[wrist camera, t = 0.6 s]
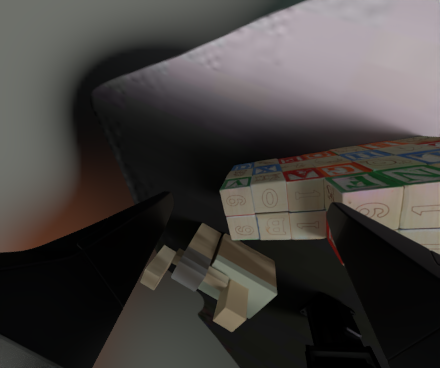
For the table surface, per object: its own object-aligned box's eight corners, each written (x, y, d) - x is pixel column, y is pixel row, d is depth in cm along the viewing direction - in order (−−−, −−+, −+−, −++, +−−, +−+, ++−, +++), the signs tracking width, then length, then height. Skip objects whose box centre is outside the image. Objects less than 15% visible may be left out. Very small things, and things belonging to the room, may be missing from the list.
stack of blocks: (240, 201, 26) (223, 263, 14) (233, 164, 24) (207, 202, 12) (415, 187, 19) (629, 278, 8) (424, 134, 17) (727, 156, 6)
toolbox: (251, 284, 31) (248, 340, 23) (188, 248, 32) (164, 290, 24) (274, 261, 28) (279, 316, 20) (203, 220, 29) (180, 258, 21)
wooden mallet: (222, 286, 24) (212, 325, 20) (163, 251, 25) (140, 282, 20) (230, 275, 23) (222, 314, 18) (168, 239, 23) (145, 268, 19)
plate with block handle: (249, 312, 27) (247, 350, 22) (198, 282, 27) (186, 313, 23) (276, 287, 23) (280, 327, 19) (217, 254, 24) (207, 284, 19)
